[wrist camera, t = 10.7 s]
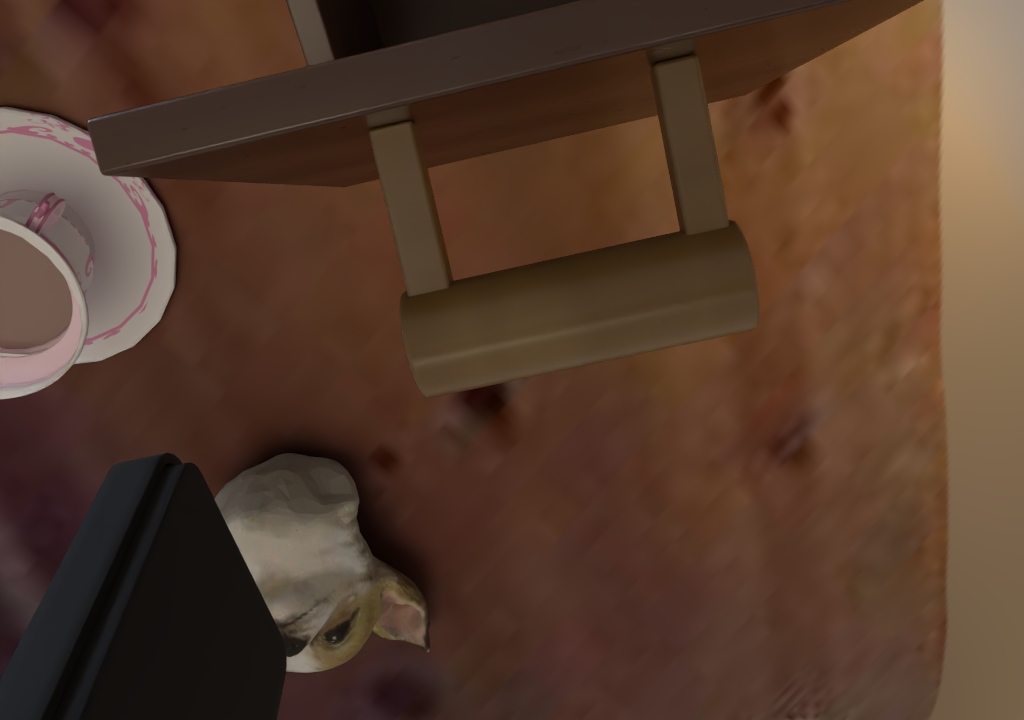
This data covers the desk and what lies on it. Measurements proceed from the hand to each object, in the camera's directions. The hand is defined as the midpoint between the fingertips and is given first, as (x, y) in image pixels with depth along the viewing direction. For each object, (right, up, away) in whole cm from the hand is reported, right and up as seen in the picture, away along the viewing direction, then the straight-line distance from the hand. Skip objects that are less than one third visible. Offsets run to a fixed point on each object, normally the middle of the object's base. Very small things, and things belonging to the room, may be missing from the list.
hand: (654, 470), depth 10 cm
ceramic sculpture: (-12, -8, +41) cm, 43 cm away
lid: (-1, +7, +10) cm, 13 cm away
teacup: (-22, +6, +32) cm, 39 cm away
